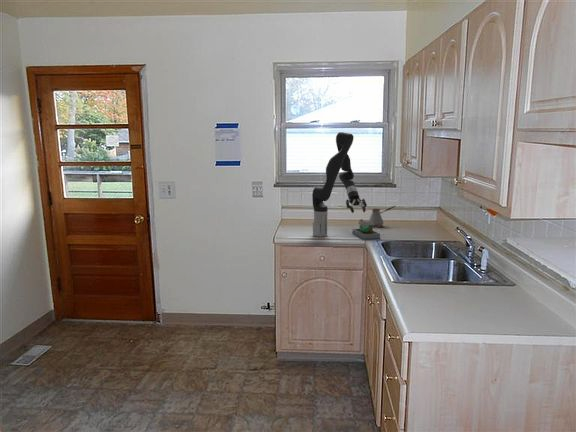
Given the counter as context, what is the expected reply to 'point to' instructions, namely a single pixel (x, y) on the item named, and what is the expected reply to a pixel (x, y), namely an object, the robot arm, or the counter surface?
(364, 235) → the tray
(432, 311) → the counter surface
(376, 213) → the coffee pot
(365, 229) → the food container
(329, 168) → the robot arm
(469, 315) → the counter surface
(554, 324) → the counter surface
